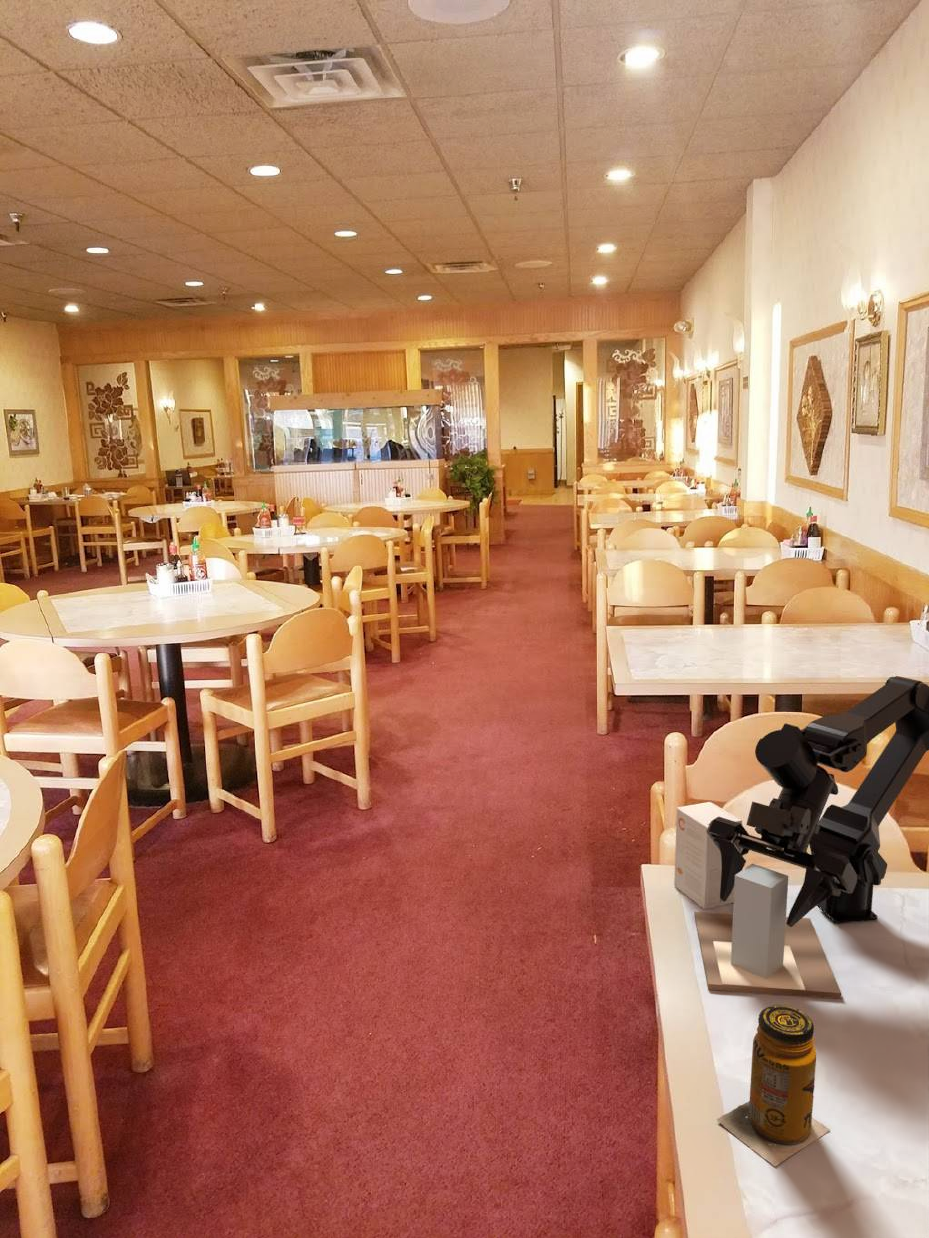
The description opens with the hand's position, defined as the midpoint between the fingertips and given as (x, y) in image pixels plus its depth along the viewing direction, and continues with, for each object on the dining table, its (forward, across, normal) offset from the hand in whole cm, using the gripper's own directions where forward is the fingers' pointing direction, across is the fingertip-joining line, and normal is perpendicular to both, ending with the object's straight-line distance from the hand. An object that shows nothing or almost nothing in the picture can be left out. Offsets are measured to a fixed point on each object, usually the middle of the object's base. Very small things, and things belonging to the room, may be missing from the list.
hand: (754, 912), depth 119 cm
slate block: (+5, 0, +6) cm, 8 cm away
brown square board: (+3, -1, +9) cm, 10 cm away
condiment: (+22, +15, -10) cm, 29 cm away
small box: (-4, -16, +17) cm, 23 cm away
